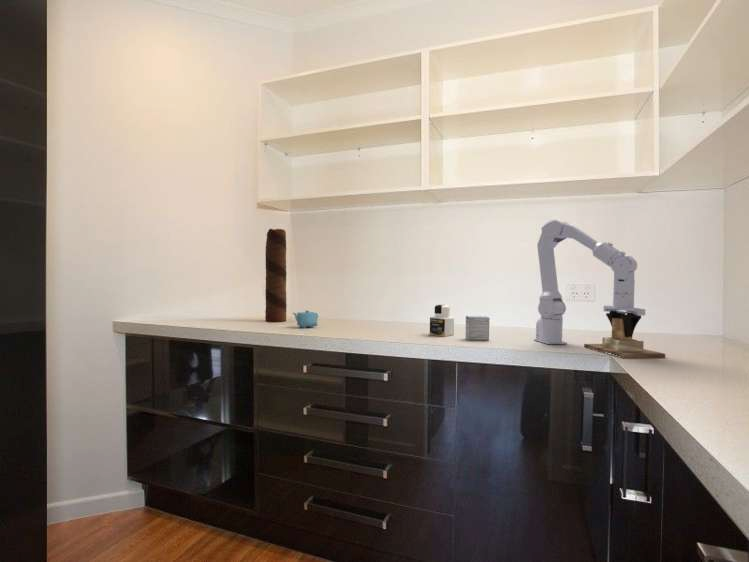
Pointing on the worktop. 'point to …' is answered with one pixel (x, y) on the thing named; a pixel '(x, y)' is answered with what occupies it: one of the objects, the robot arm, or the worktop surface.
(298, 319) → the teapot
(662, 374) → the worktop surface
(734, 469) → the worktop surface
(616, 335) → the oak peg
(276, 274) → the wafer roll
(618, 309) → the robot arm
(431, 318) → the medicine bottle
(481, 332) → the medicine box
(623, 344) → the walnut board
